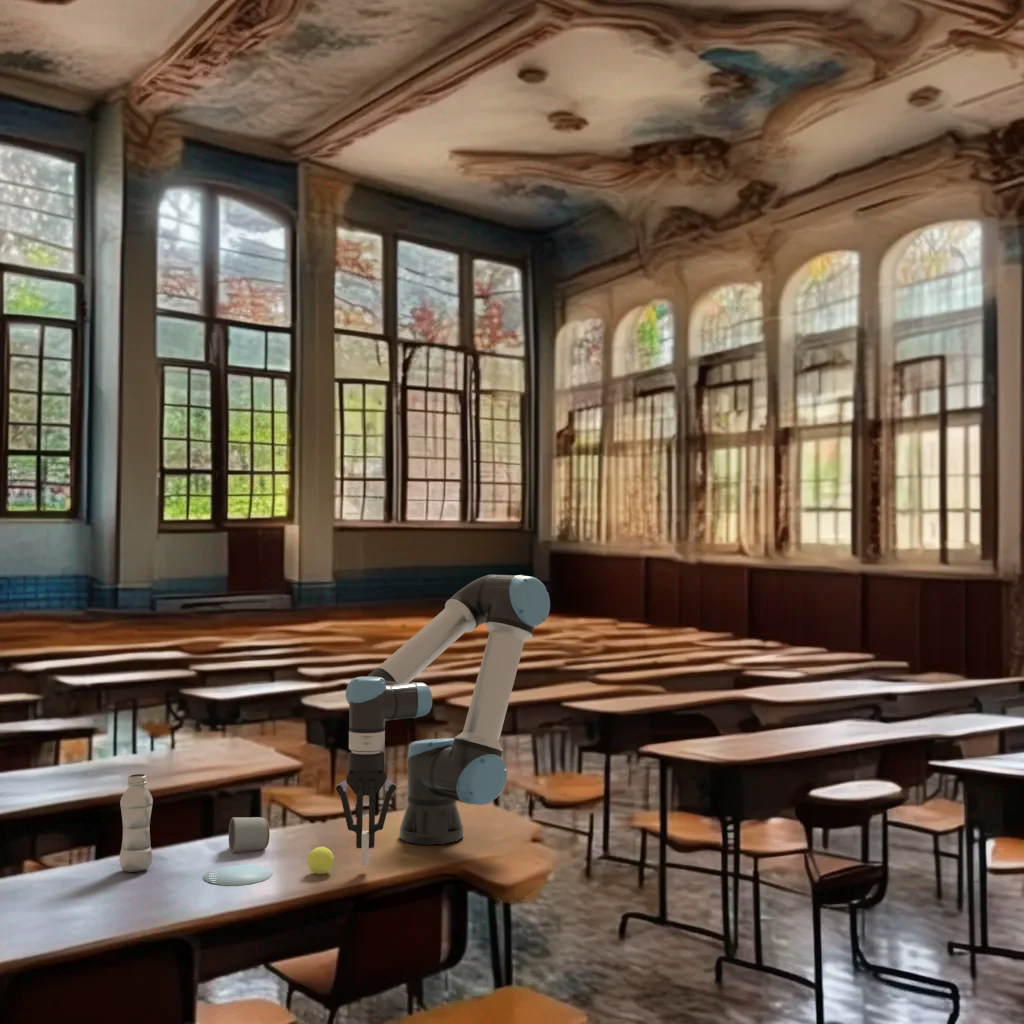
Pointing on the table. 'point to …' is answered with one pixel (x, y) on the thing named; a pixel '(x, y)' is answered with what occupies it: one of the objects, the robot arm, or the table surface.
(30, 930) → the table surface
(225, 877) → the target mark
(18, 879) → the table surface
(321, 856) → the ball
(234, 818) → the ceramic mug
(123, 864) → the plastic bottle
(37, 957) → the table surface
